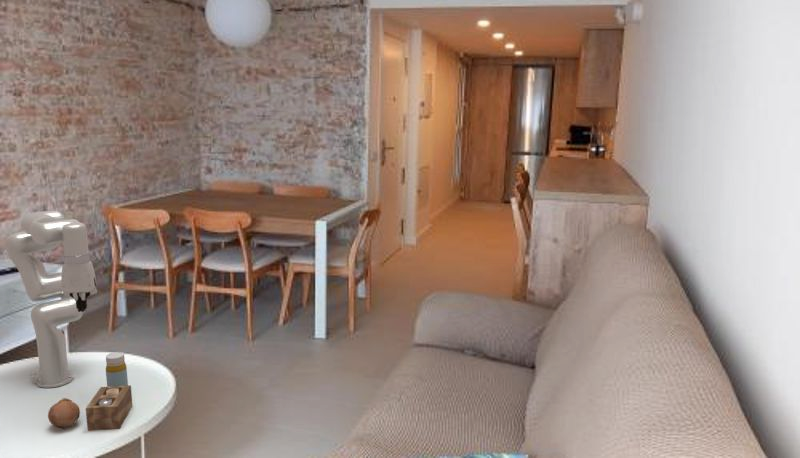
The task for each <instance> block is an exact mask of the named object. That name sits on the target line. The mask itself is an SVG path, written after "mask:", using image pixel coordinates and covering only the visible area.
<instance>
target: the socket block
mask: <svg viewBox="0 0 800 458" xmlns="http://www.w3.org/2000/svg"><path fill="white" fill-rule="evenodd" d="M111 388H118V389H119V394H113V395H106V391H107V390H108V389H111ZM132 394H133V393H132V385H129V384H128V386H110V387H107V386H100V388H99V389H98V391H96V393H95V394H94V396H93V397H92V399H91V400H90V401H89V403H88V404H87V406H86V407H85V417H86V426H87V431H88V432H89V431H91V432H92V431H104V430H106V431H107V430H120V429H121V427H122V425H123V424H124V423H125V420H126V419H127V416H128V415H129V414H130V411H132V409H133V407H134V406H133V397H132ZM106 398H110V399H112V405H102V406H99V401H100V400H102V399H106Z"/></svg>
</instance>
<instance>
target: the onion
mask: <svg viewBox="0 0 800 458" xmlns="http://www.w3.org/2000/svg"><path fill="white" fill-rule="evenodd" d="M80 415H81V410H80V407H79V405H78V404H77V403H76V402H74V401H73V400H72V399H70V398H66V397H64V398H62V399H60V400H59V401H57V402H56V403H55V404H53V405H51V407H49V409H48V413H47V418H48V421H49V423H50V424H51V425H52V426H53V427H55V428H57V429H62V430H65V429H67V428H70V427H72V426H73V425H75V424H76V423H77V421H78V420H79V419H80Z"/></svg>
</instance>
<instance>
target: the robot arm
mask: <svg viewBox="0 0 800 458" xmlns="http://www.w3.org/2000/svg"><path fill="white" fill-rule="evenodd" d="M20 228H21V229H22V231H19V232H18V231H17V232H15V233H12V234H10V235H9V236H8V237H7V238H5V249H6V253H7V255H8V257H9V259H10V261H11V262H12V263H13V265H14V266H15V267H16V270H18V272H19V274H20V275H19V276H20V278H21V280H22V283H23V286H24V289H25V291H26V294H27V296H28V298H29V300H30V301H32V302H42V303H40V304H36V305H35V306H34V307H33V308H32V309H31V310H30V319H31V322H32V326H33V329H34V334H35V340H36V346H37V347H36V348H37V355H38V365H39V370H38V371H33V370H32V371H30V372H29V377H30V379H32V380H33V379H36V386H38V387H40V388H43V389H44V388H47V389H51V388H58V387H60V386H61V387H62V386H64V385H67V384H69V383H71V382H72V381H73V380H74V379H75V378H74V373H72V372H70V371H69V362H68V353H67V345H66V337H65V334H64V333H63V332H62V330H60V329H59V328H58V326H62V325H64V324H69V323H72V322H76V321H79V320H80V319H81V318H82V317H83V312H84V311H87V308H88V303H87V299H88V298H89V296H92V295H95V294H97V293H98V289H97V278H96V273H95V272H96V271H95V268H94V266H93V265H94V264H93V262H92V261H90V251H89V241H88V239H89V238H88V229H87V226H86V224H85V223H83V222H80V221H79V220H78V219H74V218H71V219H66V218H65V215H64V214H63V213H62V212H60V211H59V210H45V211H37V212H36V211H35V212H31V213H28V214H25V215H24V216H23V217H22V218H21V220H20ZM61 243H62V245H63V246H62V247H63V255H62V256H60V257H59V260H60V261H63V264H62V265H61V272H55V273H47V270H46V267H45V265H44V263H43V262H42V261H41V260H40V259H38V258H37V257H35V256H34V255H32V253H38V252H43V251H50V250H54V249H56V248H58V246H59V244H61ZM58 298H60V299H58ZM53 299H56V300H53ZM48 300H50V301H48ZM44 301H46V302H44Z"/></svg>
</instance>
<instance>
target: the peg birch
mask: <svg viewBox="0 0 800 458" xmlns="http://www.w3.org/2000/svg"><path fill="white" fill-rule="evenodd" d="M113 394H119V389H118V388H111V389H108V390H107V391H106V395H113Z"/></svg>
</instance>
